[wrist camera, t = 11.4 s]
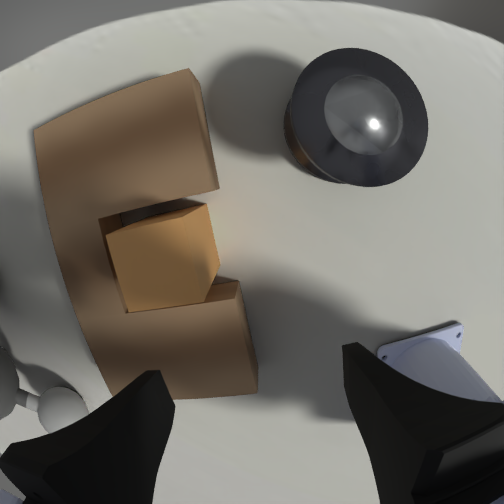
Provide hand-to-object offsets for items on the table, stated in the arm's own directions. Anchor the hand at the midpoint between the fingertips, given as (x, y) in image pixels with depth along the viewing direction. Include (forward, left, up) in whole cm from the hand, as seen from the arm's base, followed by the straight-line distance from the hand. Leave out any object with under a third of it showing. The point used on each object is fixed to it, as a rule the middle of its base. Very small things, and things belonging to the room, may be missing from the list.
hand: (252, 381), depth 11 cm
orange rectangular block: (+4, +4, -10) cm, 11 cm away
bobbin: (+10, -7, -9) cm, 15 cm away
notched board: (+4, +7, -9) cm, 12 cm away
